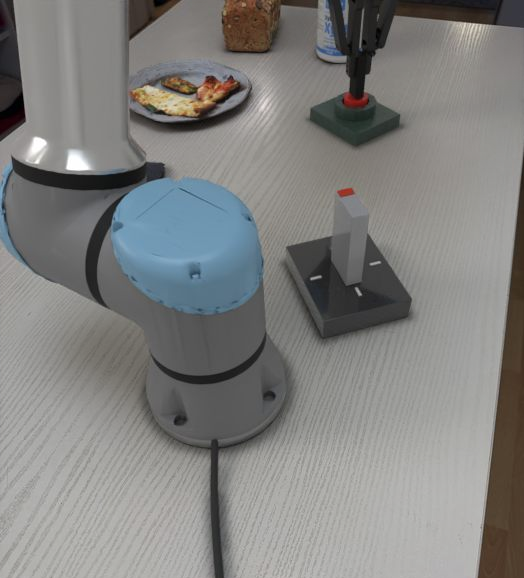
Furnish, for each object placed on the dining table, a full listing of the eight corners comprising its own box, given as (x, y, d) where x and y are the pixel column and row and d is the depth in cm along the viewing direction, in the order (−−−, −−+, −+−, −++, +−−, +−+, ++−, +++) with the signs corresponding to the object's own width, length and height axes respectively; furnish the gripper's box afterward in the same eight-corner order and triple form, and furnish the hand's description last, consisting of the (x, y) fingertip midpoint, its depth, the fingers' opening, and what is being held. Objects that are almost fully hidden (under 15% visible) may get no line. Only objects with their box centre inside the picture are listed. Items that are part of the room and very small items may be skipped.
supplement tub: (322, 67, 110) (325, -17, 98) (311, 48, 116) (313, -33, 104) (368, 61, 110) (377, -23, 99) (355, 42, 116) (361, -39, 105)
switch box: (398, 126, 94) (402, 103, 91) (355, 146, 90) (357, 123, 87) (351, 101, 100) (353, 79, 97) (309, 119, 97) (310, 97, 94)
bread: (270, 54, 115) (268, 0, 107) (221, 52, 117) (216, 0, 109) (283, 19, 127) (282, -31, 119) (238, 19, 128) (235, -31, 120)
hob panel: (408, 316, 66) (412, 298, 63) (322, 338, 64) (323, 320, 62) (362, 245, 74) (364, 227, 72) (286, 263, 73) (285, 245, 70)
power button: (371, 106, 92) (372, 96, 91) (354, 114, 91) (355, 104, 90) (355, 98, 95) (356, 88, 93) (338, 105, 93) (339, 95, 92)
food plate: (275, 93, 104) (275, 74, 101) (189, 146, 93) (186, 126, 90) (184, 61, 115) (181, 43, 112) (98, 105, 104) (92, 87, 101)
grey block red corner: (361, 282, 65) (370, 211, 58) (345, 286, 65) (352, 215, 57) (345, 256, 69) (351, 186, 61) (330, 260, 68) (335, 189, 60)
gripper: (335, -66, 70) (327, 112, 88) (427, -80, 72) (401, 97, 90) (315, -80, 75) (312, 92, 93) (402, -93, 76) (382, 78, 95)
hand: (356, 94), depth 91 cm, fingers closed
